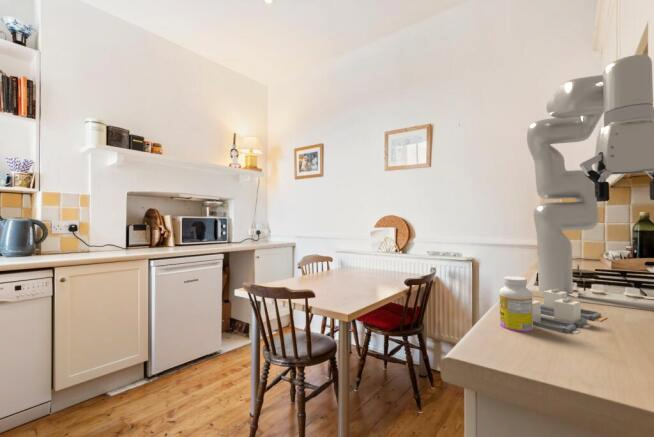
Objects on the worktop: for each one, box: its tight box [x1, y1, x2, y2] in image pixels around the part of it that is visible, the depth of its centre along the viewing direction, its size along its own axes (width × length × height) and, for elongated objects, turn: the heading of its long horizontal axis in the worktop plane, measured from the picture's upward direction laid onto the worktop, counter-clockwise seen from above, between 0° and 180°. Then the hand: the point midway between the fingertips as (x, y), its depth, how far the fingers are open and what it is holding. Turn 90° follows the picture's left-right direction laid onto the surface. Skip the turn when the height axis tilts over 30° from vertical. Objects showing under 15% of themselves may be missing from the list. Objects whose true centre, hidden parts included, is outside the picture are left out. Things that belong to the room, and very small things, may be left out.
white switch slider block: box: [543, 289, 568, 309], centre depth 87 cm, size 4×4×6 cm
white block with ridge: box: [553, 297, 582, 323], centre depth 77 cm, size 4×4×6 cm
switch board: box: [532, 299, 608, 335], centre depth 80 cm, size 22×15×7 cm
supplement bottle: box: [499, 275, 534, 333], centre depth 74 cm, size 7×7×13 cm
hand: (629, 200), depth 66 cm, fingers open, 9 cm apart
